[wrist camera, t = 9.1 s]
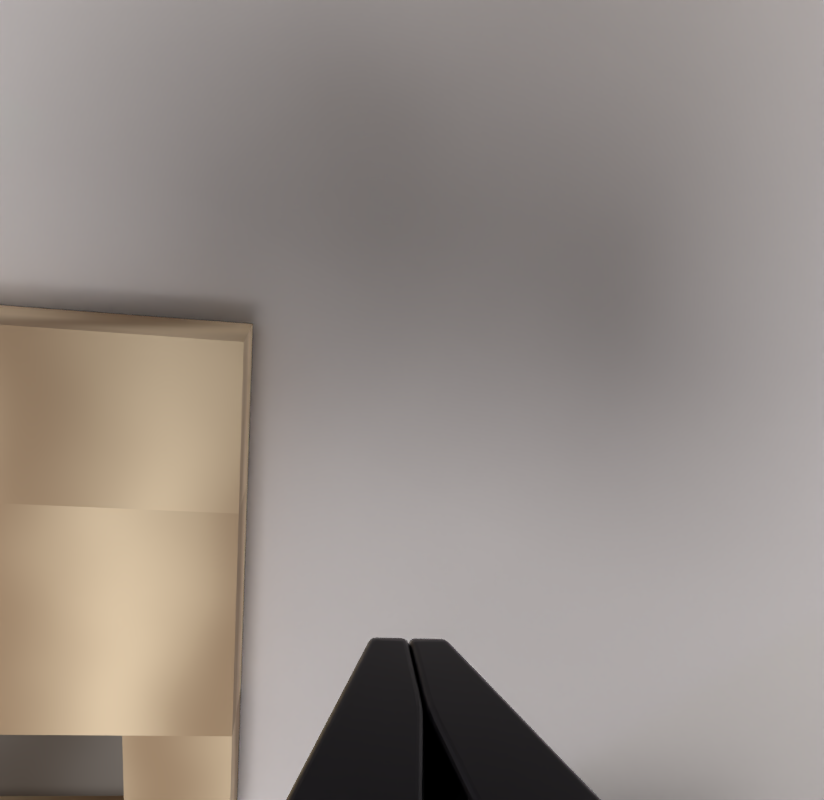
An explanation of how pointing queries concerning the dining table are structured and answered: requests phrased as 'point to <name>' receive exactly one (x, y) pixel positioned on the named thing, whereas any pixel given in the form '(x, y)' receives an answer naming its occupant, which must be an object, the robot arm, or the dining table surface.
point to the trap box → (121, 554)
